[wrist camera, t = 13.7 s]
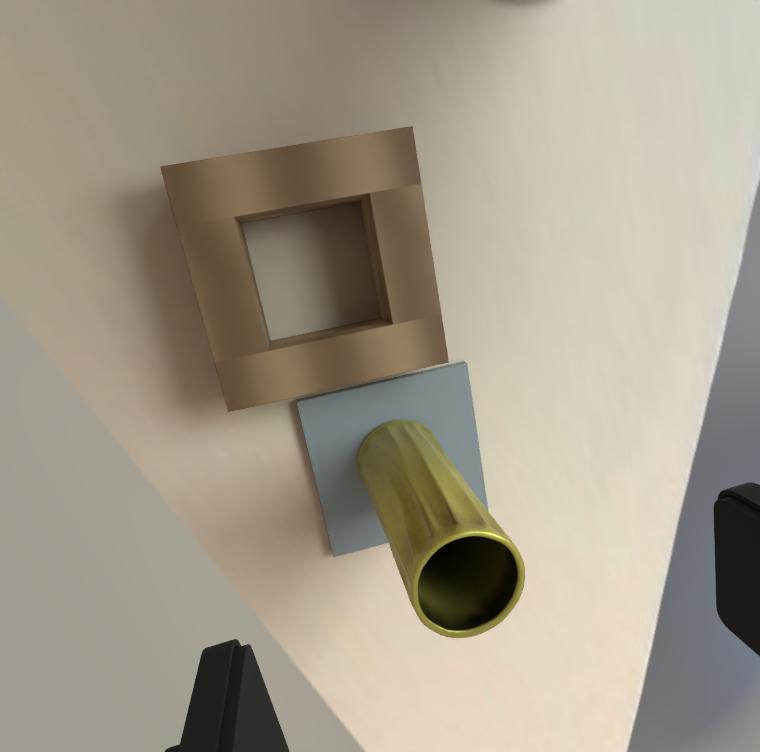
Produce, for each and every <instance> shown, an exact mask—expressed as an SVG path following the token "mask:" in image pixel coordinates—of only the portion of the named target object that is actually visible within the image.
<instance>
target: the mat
mask: <svg viewBox="0 0 760 752" xmlns="http://www.w3.org/2000/svg"><path fill="white" fill-rule="evenodd" d="M296 402H297V406H298V410H299V415H300V419H301V423H302V427H303V431H304V435H305V440H306V444H307V448H308V452H309V456H310V460H311V465H312V469H313V473H314V477H315V481H316V485H317V490H318V494H319V498H320V502H321V506H322V511H323V515H324V519H325V523H326V527H327V531H328V536H329V540H330V544H331V548H332V552H333V556H334V557H336V556H340V555H343V554H347V553H351V552H354V551H358V550H362V549H365V548H369V547H373V546H377V545H380V544H384V543H388V539H387V537H386V535H385V533H384V530H383V528H382V526H381V523H380V521H379V518H378V516H377V514H376V511H375V508H374V505H373V502H372V499H371V497H370V495H369V493H368V490H367V489H366V487H365V486H364V485H363V483H362V482H361V479H360V477H359V473H358V466H357V459H358V454H359V451H360V448H361V446H362V444H363V442H364V441H365V439H366V438H367V437H368V435H369V434H370V433H371V432H373V431H374V430H375V429H376V428H378V427H379V426H381V425H383V424H385V423H388V422H391V421H395V420H411V421H415V422H418V423H420V424H422V425H424V426H426V427H427V428H428V429H430V430H431V431H432V432H433V433H434V435H435V436H436V438H437V440H438V442H439V444H440V446H441V448H442V449H443V451H444V452H445V454H446V455H447V457H448V458H449V460H450V461H451V462H452V464H453V465H454V466H455V468H456V469H457V471H458V472H459V473H460V474H461V476H462V477H463V478H464V480H465V481H466V482H467V484H468V485H469V487H470V488H471V489H472V491H473V492H474V494H475V495H476V496H477V498H478V499H479V500H480V501H481V503H482V504H483V505H484V507H485V508H486V509H487V511H488V505H487V498H486V491H485V484H484V478H483V471H482V464H481V457H480V450H479V443H478V436H477V429H476V422H475V415H474V408H473V401H472V394H471V388H470V381H469V374H468V367H467V363H466V362H461V363H456V364H452V365H447V366H443V367H438V368H434V369H430V370H425V371H421V372H416V373H412V374H408V375H403V376H399V377H394V378H390V379H386V380H381V381H377V382H372V383H368V384H363V385H359V386H355V387H350V388H346V389H341V390H337V391H333V392H328V393H324V394H319V395H315V396H310V397H306V398H302V399H297V400H296Z"/></svg>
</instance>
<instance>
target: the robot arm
mask: <svg viewBox="0 0 760 752" xmlns="http://www.w3.org/2000/svg"><path fill="white" fill-rule="evenodd" d="M714 535H715V569H716V605H717V612H718V615H719V617H720V619H721V620H722V622H723V623H724V625H725V626H726V627H727V628H728V629H729V630H730V631H731V632H733V633H734V634H735V635H736V636H737V637H738V638H739V639H741V640H742V641H743V642H744V643H745V644H746V645H747V646H749V647H750V648H751V649H752V650H753V651H754V652H755V653H757V654H758V655H759V656H760V485H758V484H755V483H745V484H742V485H739V486H736V487H732V488H729V489H726V490H723V491H721V492H720V494H719V495H718V500H717V501H716V502H715V504H714ZM165 752H289V749H288V746H287V744H286V740H285V738H284V735H283V732H282V730H281V727H280V724H279V721H278V719H277V716H276V713H275V711H274V708H273V705H272V702H271V699H270V697H269V694H268V691H267V688H266V686H265V683H264V680H263V677H262V675H261V672H260V669H259V666H258V664H257V661H256V658H255V656H254V653H253V650H252V648H251V646H250V645H249V644H248V645H245V646H241V645H240V643H239V641H238V640H237V639H234V640H231V641H228V642H224V643H221V644H218V645H214V646H211V647H208V648H205V649H204V650H203V652H202V655H201V658H200V663H199V667H198V671H197V675H196V679H195V684H194V688H193V692H192V696H191V700H190V705H189V709H188V713H187V717H186V721H185V726H184V730H183V734H182V738H181V743H180V744H179V745H176V746H173V747H170V748H168V749H166V751H165Z"/></svg>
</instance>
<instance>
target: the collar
mask: <svg viewBox="0 0 760 752" xmlns="http://www.w3.org/2000/svg"><path fill="white" fill-rule="evenodd" d="M160 168H161V171H162V175H163V178H164V182H165V186H166V189H167V193H168V196H169V200H170V204H171V207H172V211H173V214H174V218H175V222H176V225H177V229H178V232H179V236H180V240H181V243H182V247H183V250H184V254H185V257H186V261H187V265H188V268H189V272H190V275H191V279H192V283H193V286H194V290H195V293H196V297H197V301H198V304H199V308H200V311H201V315H202V319H203V322H204V326H205V329H206V333H207V337H208V340H209V344H210V347H211V351H212V355H213V358H214V362H215V365H216V369H217V373H218V376H219V380H220V383H221V387H222V391H223V394H224V398H225V401H226V405H227V409H228V412H231V411H235V410H240V409H244V408H248V407H253V406H257V405H262V404H266V403H271V402H275V401H279V400H284V399H288V398H293V397H297V396H302V395H306V394H310V393H315V392H319V391H324V390H328V389H333V388H337V387H341V386H346V385H350V384H355V383H359V382H364V381H368V380H372V379H377V378H381V377H386V376H390V375H395V374H399V373H403V372H408V371H412V370H417V369H421V368H426V367H430V366H434V365H439V364H443V363H448V362H449V361H448V354H447V348H446V341H445V335H444V328H443V322H442V315H441V309H440V302H439V296H438V289H437V283H436V277H435V270H434V264H433V257H432V251H431V244H430V238H429V231H428V225H427V218H426V212H425V205H424V199H423V192H422V186H421V179H420V173H419V166H418V160H417V153H416V147H415V140H414V134H413V127H412V126H411V127H405V128H399V129H393V130H387V131H380V132H374V133H368V134H362V135H355V136H349V137H343V138H337V139H330V140H324V141H318V142H312V143H306V144H299V145H293V146H287V147H281V148H274V149H268V150H262V151H256V152H249V153H243V154H237V155H231V156H225V157H218V158H212V159H206V160H200V161H193V162H187V163H181V164H175V165H168V166H162V167H160ZM357 202H360V205H361V210H362V216H363V221H364V226H365V232H366V237H367V243H368V248H369V253H370V259H371V264H372V270H373V275H374V280H375V286H376V291H377V297H378V302H379V307H380V313H381V318H378V319H374V320H369V321H364V322H359V323H355V324H350V325H345V326H340V327H336V328H331V329H326V330H321V331H317V332H312V333H307V334H302V335H297V336H293V337H288V338H283V339H278V340H274V341H270V337H269V333H268V329H267V325H266V321H265V317H264V313H263V309H262V305H261V301H260V297H259V292H258V288H257V284H256V280H255V276H254V272H253V268H252V264H251V260H250V256H249V252H248V248H247V244H246V240H245V235H244V231H243V227H242V223H245V222H251V221H256V220H262V219H267V218H273V217H279V216H284V215H290V214H295V213H301V212H307V211H312V210H318V209H323V208H329V207H335V206H340V205H346V204H352V203H357Z"/></svg>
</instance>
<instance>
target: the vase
mask: <svg viewBox="0 0 760 752" xmlns="http://www.w3.org/2000/svg"><path fill="white" fill-rule="evenodd" d="M357 466H358V473H359V477H360V479H361V482H362V483H363V485H364V486H365V487H366V489H367V490H368V493H369V495H370V497H371V499H372V502H373V505H374V508H375V511H376V514H377V516H378V518H379V521H380V523H381V526H382V528H383V530H384V533H385V535H386V537H387V539H388V542H389V544H390V547H391V550H392V553H393V556H394V559H395V562H396V564H397V567H398V570H399V572H400V575H401V578H402V580H403V583H404V585H405V588H406V590H407V593H408V596H409V599H410V602H411V604H412V606H413V608H414V610H415V612H416V613H417V615H418V617H419V619H420V620H421V622H422V623H423V624H424V625H425V626H426V627H428V628H429V629H431V630H433V631H435V632H436V633H438V634H440V635H443V636H446V637H451V638H466V637H472V636H476V635H478V634H481V633H483V632H485V631H487V630H489V629H491V628H493V627H495V626H496V625H498V624H499V623H500V622H501V621H503V620H504V619H505V618H506V617H507V616H508V614H509V613H510V612H511V611H512V609H513V608H514V607H515V605H516V603H517V602H518V600H519V598H520V596H521V593H522V591H523V588H524V581H525V567H524V562H523V559H522V557H521V555H520V553H519V551H518V549H517V548H516V546H515V545H514V543H513V542H512V540H511V539H510V538H509V537H508V536H507V534H506V533H505V532H504V531H503V530H502V528H501V527H500V526H499V525H498V523H497V522H496V521H495V519H494V518H493V517H492V516H491V514H490V513H489V512H488V511H487V509H486V508H485V507H484V505H483V504H482V503H481V501H480V500H479V499H478V498H477V496H476V495H475V494H474V492H473V491H472V489H471V488H470V487H469V485H468V484H467V482H466V481H465V480H464V478H463V477H462V476H461V474H460V473H459V472H458V471H457V469H456V468H455V466H454V465H453V464H452V462H451V461H450V460H449V458H448V457H447V455H446V454H445V452H444V451H443V449H442V448H441V446H440V444H439V442H438V440H437V438H436V436H435V435H434V433H433V432H432V431H431V430H430V429H428V428H427V427H426V426H424V425H422V424H420V423H418V422H415V421H411V420H395V421H391V422H388V423H385V424H383V425H381V426H379V427H378V428H376V429H375V430H374V431H373V432H371V433H370V434H369V435H368V437H367V438H366V439H365V441H364V442H363V444H362V446H361V448H360V451H359V454H358V459H357Z"/></svg>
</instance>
